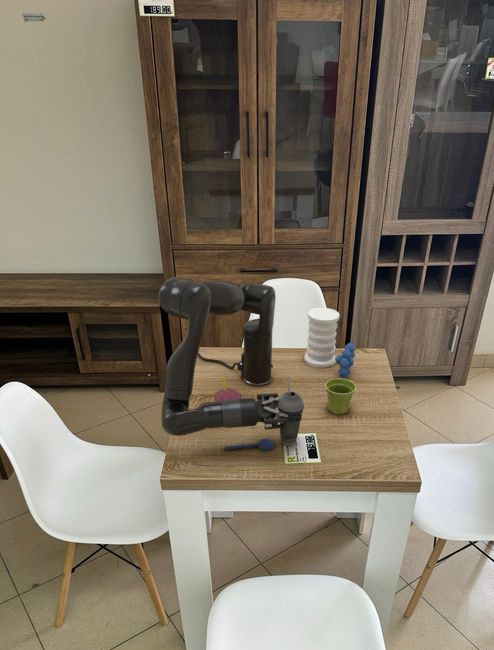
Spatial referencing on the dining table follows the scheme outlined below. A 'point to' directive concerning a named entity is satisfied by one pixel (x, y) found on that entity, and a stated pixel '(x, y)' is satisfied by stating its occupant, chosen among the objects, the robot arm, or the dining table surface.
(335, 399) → the plant pot
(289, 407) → the beverage cup
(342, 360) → the grapes
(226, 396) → the cupcake
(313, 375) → the dining table surface
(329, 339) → the decorative container
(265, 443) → the spoon
